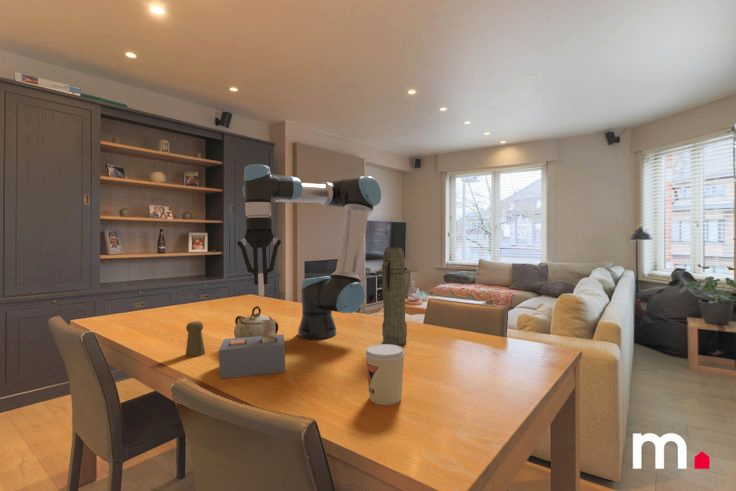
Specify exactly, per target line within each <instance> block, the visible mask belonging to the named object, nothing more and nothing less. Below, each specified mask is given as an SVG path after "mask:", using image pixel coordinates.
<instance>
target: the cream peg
mask: <svg viewBox="0 0 736 491" xmlns="http://www.w3.org/2000/svg"><path fill="white" fill-rule="evenodd" d="M275 321H276V319H275V318H274V319H273V318H272V319H269V320H262V322H261V325H262V343H271V342H276V331H275Z"/></svg>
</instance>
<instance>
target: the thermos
mask: <svg viewBox="0 0 736 491" xmlns="http://www.w3.org/2000/svg"><path fill="white" fill-rule="evenodd" d="M382 257H383V259H382V261H383V262H382V264H381V270H382V271H381V275H382V276H381V279H382V280H381V295H382V297H383V321H382V323H381V324H382V326H381V328H382V335H381V336H382V344H392V345H397V346H400V347H401V346H404V345H406V344H407V342H408V341H407V336H408V324H407V322H406V296H407V279H406V277H405V273H406V272H405V254H404V251H403V248H401V247H398V246H389V247H386V248H384V252H383V256H382Z"/></svg>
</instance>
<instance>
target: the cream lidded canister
mask: <svg viewBox="0 0 736 491" xmlns="http://www.w3.org/2000/svg"><path fill="white" fill-rule="evenodd" d="M365 356H366V368H367V370H366V371H367V382H368V392H369V393H368V394H369V399H370V401H371V402H372V403H374V404H376V405H380V406H390V405H391V406H392V405H395V404H398V403H400V402H401V401H402V394H403V379H404V378H403V377H404V376H403V375H404V356H405V351H404V349H403V347H402V346H401V345H400V346H397V345H392V344H384V343H378V344H373V345H370V346H368V347H367V348H366V351H365Z"/></svg>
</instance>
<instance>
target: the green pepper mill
mask: <svg viewBox="0 0 736 491" xmlns="http://www.w3.org/2000/svg"><path fill="white" fill-rule="evenodd" d="M203 329H204V325H203V323H202V322H201V321H192V322H189V323H187V325H186V327H185V330H186V332H187V338H186V339H187V341H186V350H185V357H187V358H197V357H200V356H203V355H205V353H206V350H205V345H204V339H203V332H202V330H203Z"/></svg>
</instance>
